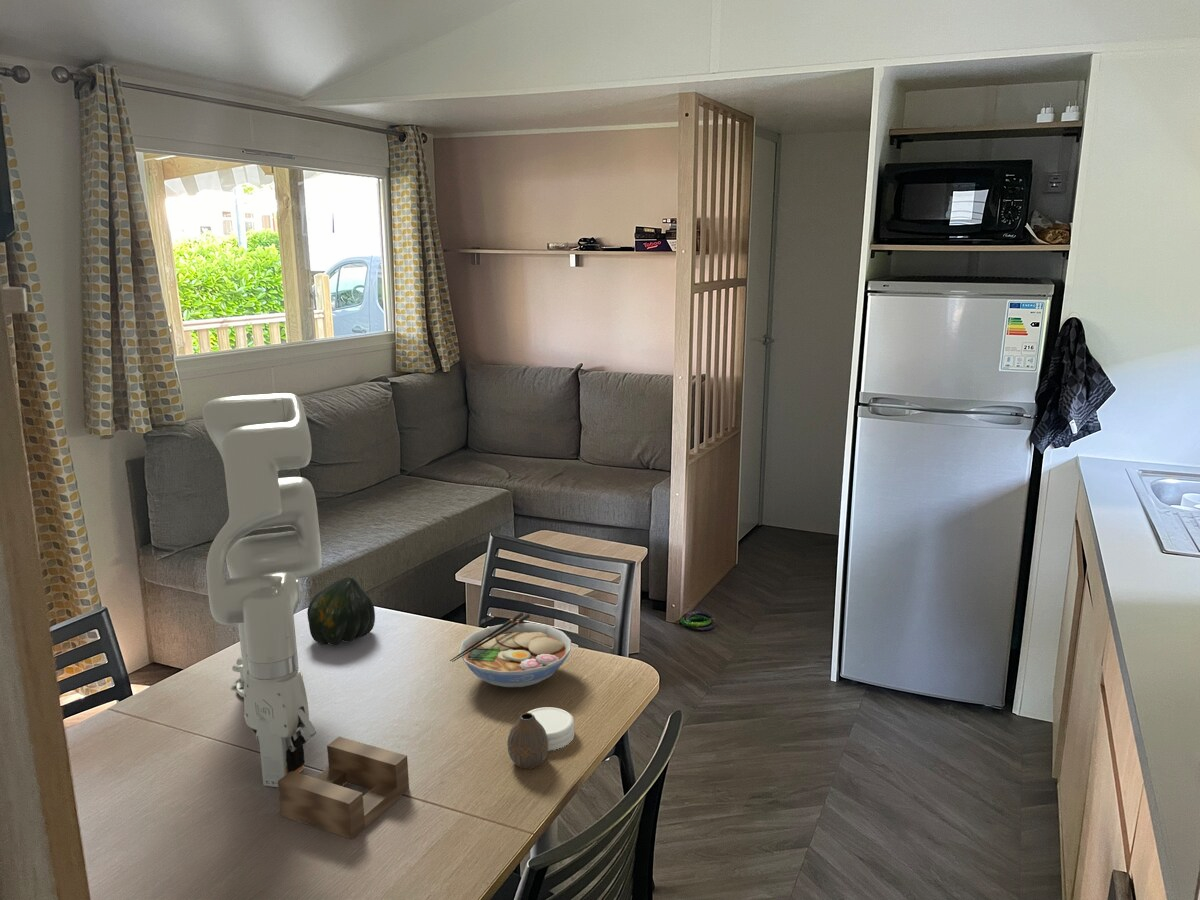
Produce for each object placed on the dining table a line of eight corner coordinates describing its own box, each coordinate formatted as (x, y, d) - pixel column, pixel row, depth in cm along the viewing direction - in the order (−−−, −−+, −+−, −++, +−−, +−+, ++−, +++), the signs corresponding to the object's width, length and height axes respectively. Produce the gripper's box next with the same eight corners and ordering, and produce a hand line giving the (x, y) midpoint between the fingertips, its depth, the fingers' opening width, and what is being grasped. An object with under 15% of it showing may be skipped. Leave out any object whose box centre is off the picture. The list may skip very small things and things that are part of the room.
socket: (281, 815, 139) (277, 781, 138) (341, 768, 152) (339, 736, 150) (352, 839, 133) (349, 803, 132) (409, 788, 146) (407, 755, 144)
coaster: (579, 725, 165) (579, 708, 164) (568, 755, 155) (567, 737, 155) (526, 721, 167) (526, 704, 166) (512, 750, 157) (512, 732, 156)
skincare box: (286, 789, 146) (279, 723, 143) (262, 786, 147) (255, 720, 144) (305, 768, 152) (299, 704, 149) (282, 765, 152) (276, 702, 150)
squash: (283, 622, 197) (317, 579, 192) (325, 599, 211) (359, 559, 206) (325, 669, 196) (361, 627, 190) (365, 643, 209) (400, 604, 204)
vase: (554, 755, 155) (553, 709, 153) (539, 777, 149) (538, 729, 147) (518, 748, 157) (516, 703, 155) (501, 769, 151) (499, 722, 149)
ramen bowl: (525, 721, 166) (523, 681, 164) (432, 690, 178) (430, 652, 176) (596, 668, 187) (596, 631, 185) (509, 643, 198) (508, 609, 197)
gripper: (216, 663, 145) (227, 763, 149) (297, 684, 138) (306, 788, 142) (251, 645, 151) (262, 741, 155) (330, 663, 144) (338, 764, 148)
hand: (283, 763), depth 148 cm, fingers closed on skincare box, 5 cm apart
